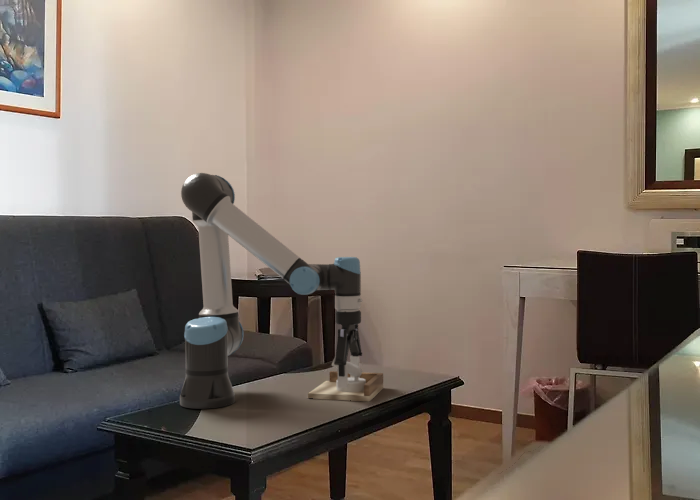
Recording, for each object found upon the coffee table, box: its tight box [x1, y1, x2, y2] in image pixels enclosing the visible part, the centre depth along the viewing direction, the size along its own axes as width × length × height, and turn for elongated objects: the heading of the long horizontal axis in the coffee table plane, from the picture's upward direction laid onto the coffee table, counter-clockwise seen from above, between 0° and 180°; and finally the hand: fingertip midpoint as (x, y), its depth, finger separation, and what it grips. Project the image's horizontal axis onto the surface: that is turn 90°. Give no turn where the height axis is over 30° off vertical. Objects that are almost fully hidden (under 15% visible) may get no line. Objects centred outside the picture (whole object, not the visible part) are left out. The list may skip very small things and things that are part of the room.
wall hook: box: [331, 355, 366, 392], centre depth 220 cm, size 9×10×10 cm
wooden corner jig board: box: [307, 370, 384, 402], centre depth 221 cm, size 18×18×4 cm
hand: (349, 382), depth 220 cm, fingers open, 13 cm apart
